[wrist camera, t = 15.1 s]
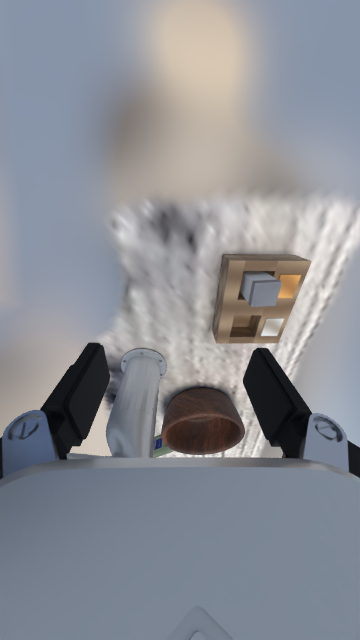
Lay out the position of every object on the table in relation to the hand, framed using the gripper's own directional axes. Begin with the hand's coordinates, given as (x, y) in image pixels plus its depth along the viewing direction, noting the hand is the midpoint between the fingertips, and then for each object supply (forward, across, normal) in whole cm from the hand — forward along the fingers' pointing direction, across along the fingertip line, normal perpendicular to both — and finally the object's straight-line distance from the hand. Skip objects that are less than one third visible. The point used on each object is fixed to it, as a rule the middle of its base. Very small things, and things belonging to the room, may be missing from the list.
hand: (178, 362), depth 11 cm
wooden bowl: (+28, -10, +48) cm, 56 cm away
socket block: (+27, -16, +7) cm, 32 cm away
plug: (+26, -15, +2) cm, 30 cm away
